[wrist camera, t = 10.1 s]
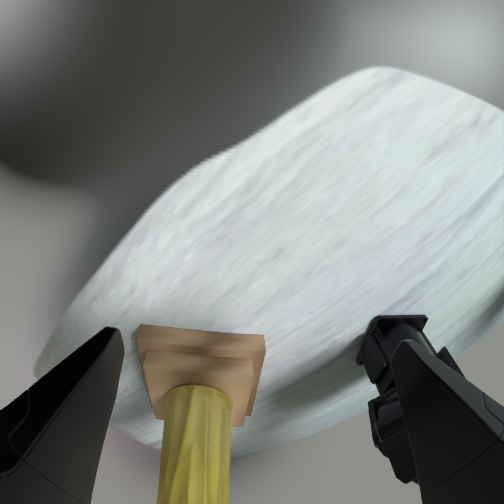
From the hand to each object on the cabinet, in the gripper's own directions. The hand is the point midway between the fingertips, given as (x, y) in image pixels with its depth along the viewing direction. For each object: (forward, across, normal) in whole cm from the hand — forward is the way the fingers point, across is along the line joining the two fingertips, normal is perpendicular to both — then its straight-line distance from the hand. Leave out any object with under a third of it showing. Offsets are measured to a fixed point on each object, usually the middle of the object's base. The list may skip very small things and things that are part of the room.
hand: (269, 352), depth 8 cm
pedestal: (+13, +3, +17) cm, 22 cm away
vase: (+9, +3, +17) cm, 20 cm away
